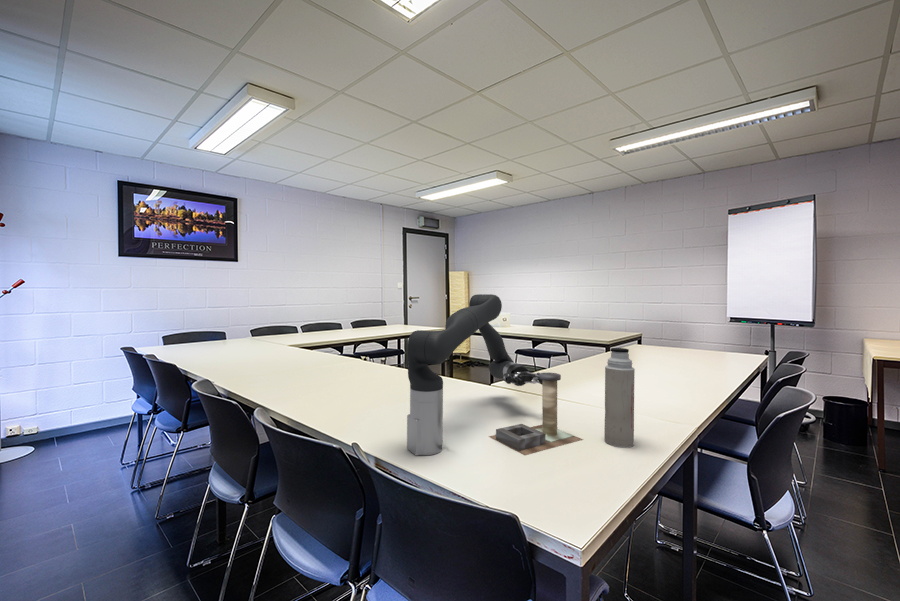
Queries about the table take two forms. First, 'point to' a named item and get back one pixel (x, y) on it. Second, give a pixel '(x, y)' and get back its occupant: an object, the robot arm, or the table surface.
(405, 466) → the table surface
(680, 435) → the table surface
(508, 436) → the board
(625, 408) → the thermos bottle
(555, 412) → the wheel post
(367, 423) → the table surface
